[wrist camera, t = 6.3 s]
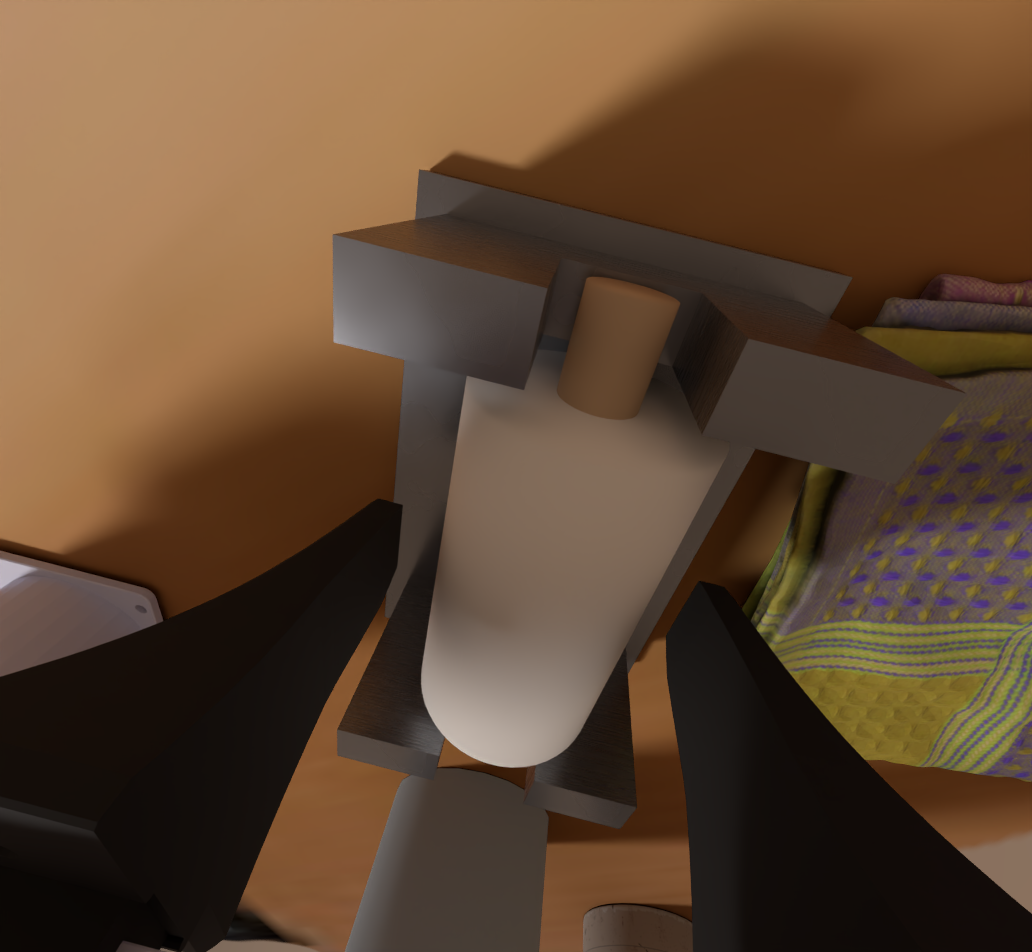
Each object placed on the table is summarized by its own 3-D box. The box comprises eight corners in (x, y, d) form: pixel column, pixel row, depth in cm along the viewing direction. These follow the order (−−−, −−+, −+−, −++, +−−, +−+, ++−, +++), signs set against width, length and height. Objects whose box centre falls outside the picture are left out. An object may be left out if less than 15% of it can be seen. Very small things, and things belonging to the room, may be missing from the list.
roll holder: (624, 665, 18) (635, 845, 13) (390, 605, 19) (314, 761, 14) (840, 273, 10) (1068, 353, 5) (427, 170, 11) (275, 155, 6)
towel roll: (569, 659, 17) (574, 817, 13) (434, 633, 17) (394, 784, 13) (729, 293, 10) (855, 377, 6) (501, 239, 10) (459, 285, 6)
